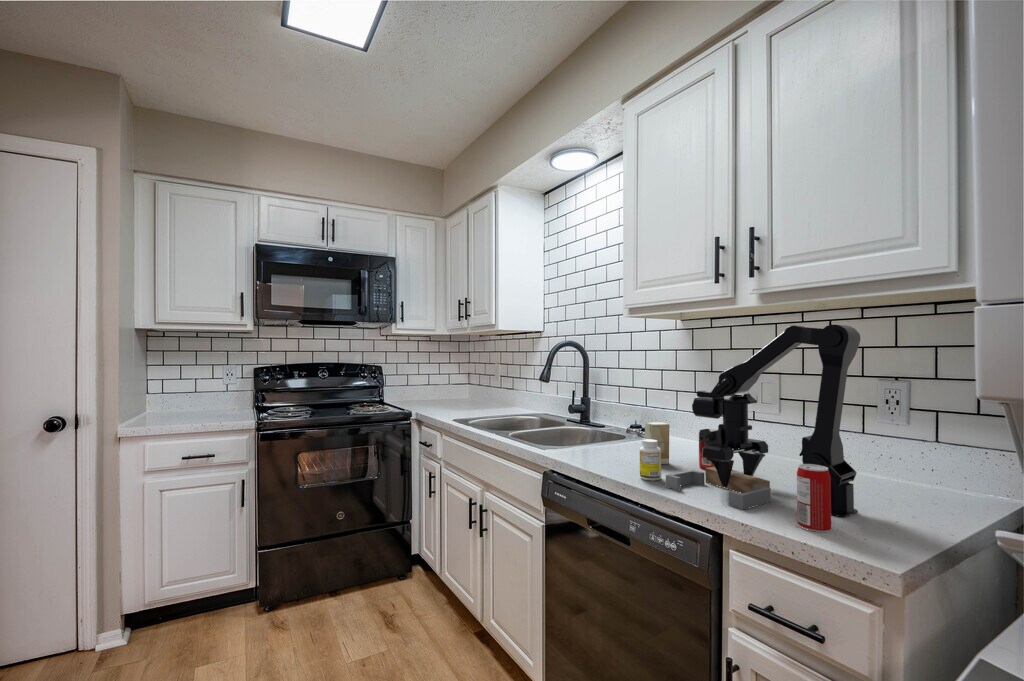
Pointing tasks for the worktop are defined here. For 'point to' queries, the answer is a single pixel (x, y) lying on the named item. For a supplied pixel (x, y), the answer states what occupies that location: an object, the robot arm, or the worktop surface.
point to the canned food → (702, 460)
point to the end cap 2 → (750, 497)
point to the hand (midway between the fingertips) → (736, 484)
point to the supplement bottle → (650, 460)
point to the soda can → (814, 497)
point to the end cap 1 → (684, 479)
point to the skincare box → (659, 438)
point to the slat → (736, 480)
